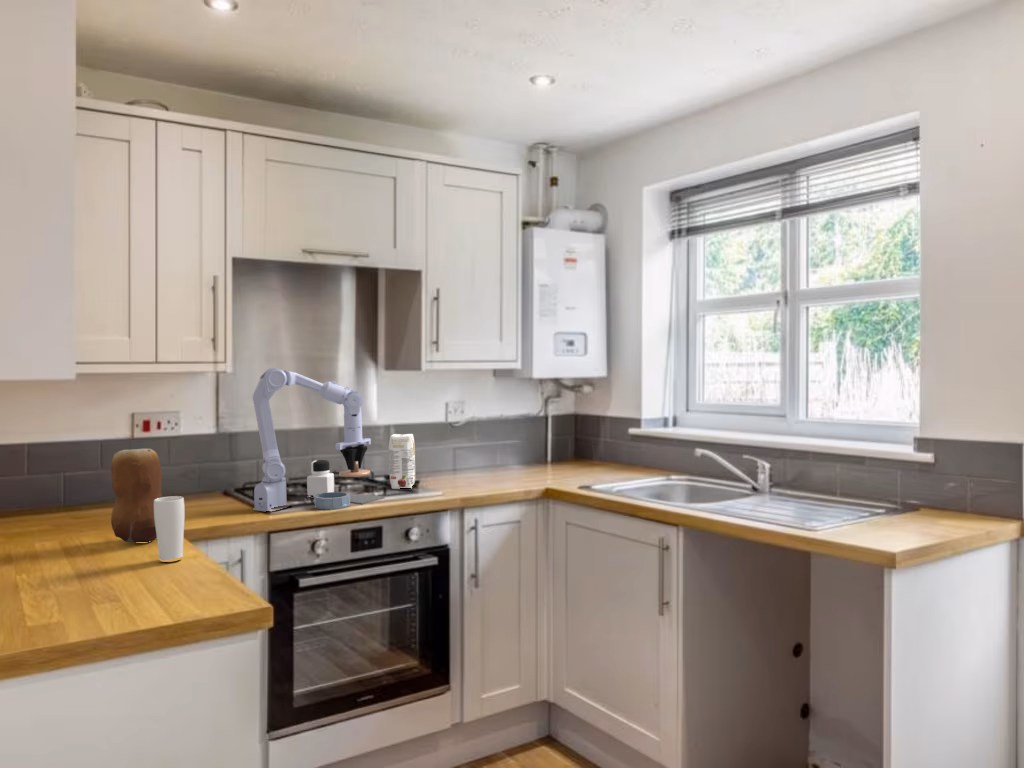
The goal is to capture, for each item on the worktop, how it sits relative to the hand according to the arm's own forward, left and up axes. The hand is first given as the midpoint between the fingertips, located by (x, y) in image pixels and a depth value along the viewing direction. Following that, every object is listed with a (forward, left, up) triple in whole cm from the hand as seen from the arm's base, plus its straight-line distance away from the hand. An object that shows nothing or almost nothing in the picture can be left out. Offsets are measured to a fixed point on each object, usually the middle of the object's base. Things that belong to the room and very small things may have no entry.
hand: (354, 468), depth 254 cm
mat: (+2, 0, -11) cm, 11 cm away
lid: (0, 0, -2) cm, 2 cm away
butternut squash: (-67, +13, -11) cm, 69 cm away
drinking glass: (-74, -9, -11) cm, 76 cm away
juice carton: (+25, +1, -11) cm, 28 cm away
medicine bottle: (+1, +17, -11) cm, 20 cm away
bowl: (-10, +1, -11) cm, 14 cm away
